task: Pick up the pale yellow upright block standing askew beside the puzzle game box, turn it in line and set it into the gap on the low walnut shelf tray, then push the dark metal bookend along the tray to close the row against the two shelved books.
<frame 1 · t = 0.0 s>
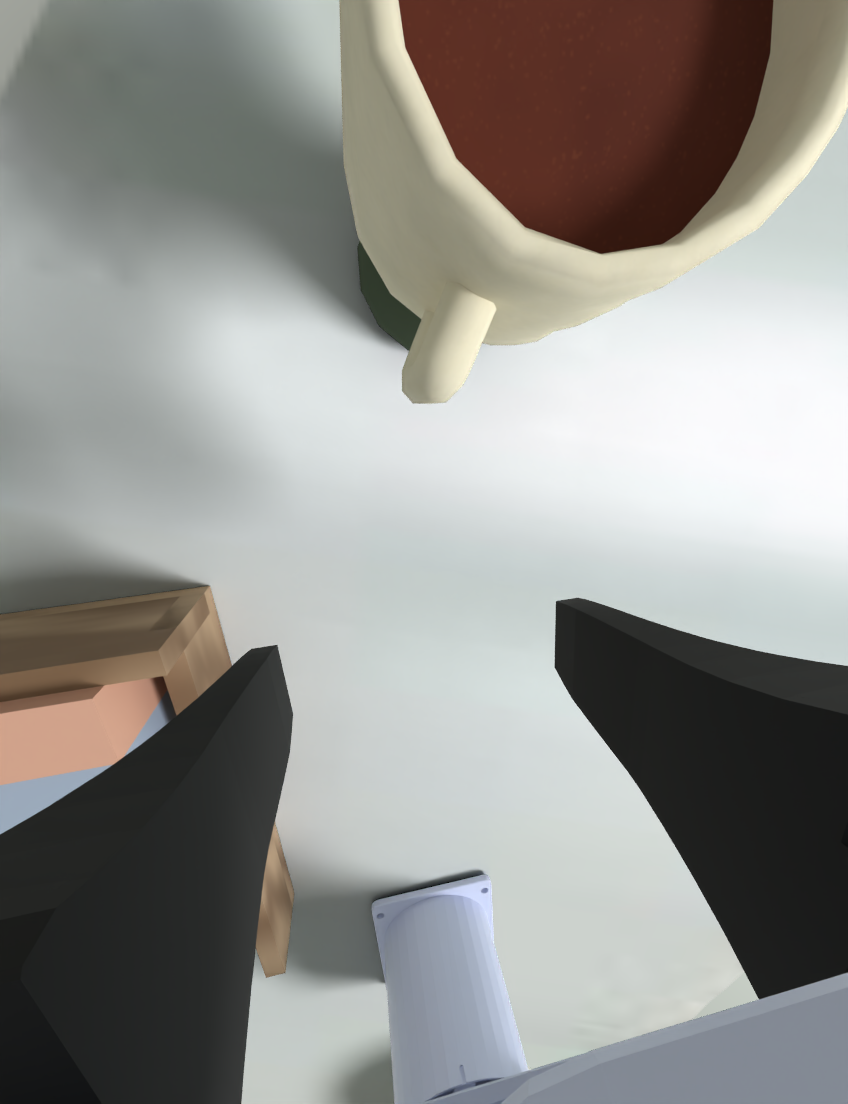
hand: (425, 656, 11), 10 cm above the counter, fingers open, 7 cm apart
row books: (160, 781, 22), resting on shelf tray
shelf tray: (170, 779, 22), on the counter
character mug: (435, 276, 17), on the counter
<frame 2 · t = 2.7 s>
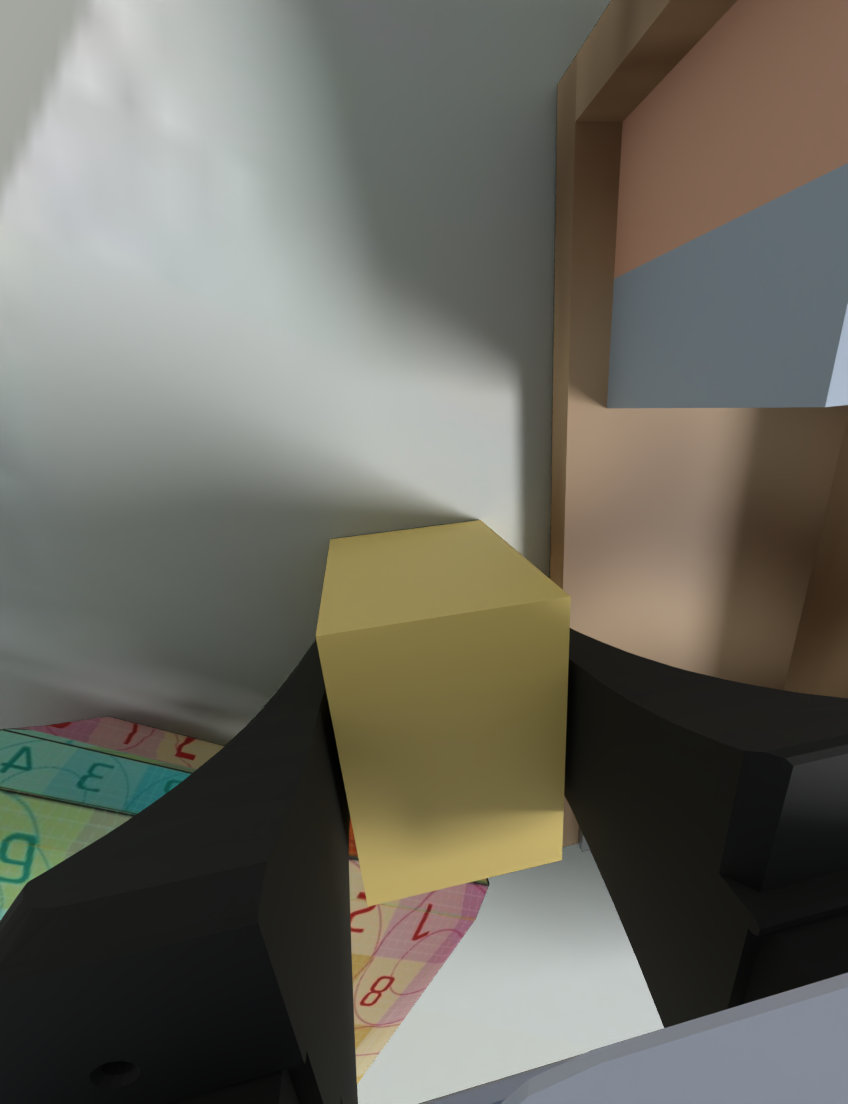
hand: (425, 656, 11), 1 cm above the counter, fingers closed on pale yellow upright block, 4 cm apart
row books: (676, 543, 13), resting on shelf tray
shelf tray: (691, 541, 13), on the counter
pale yellow upright block: (417, 629, 12), on the counter, touching gripper
puzzle game: (182, 937, 15), on the counter
bookend: (710, 841, 13), point 3 cm above the counter, slide at 0.0 cm, touching shelf tray
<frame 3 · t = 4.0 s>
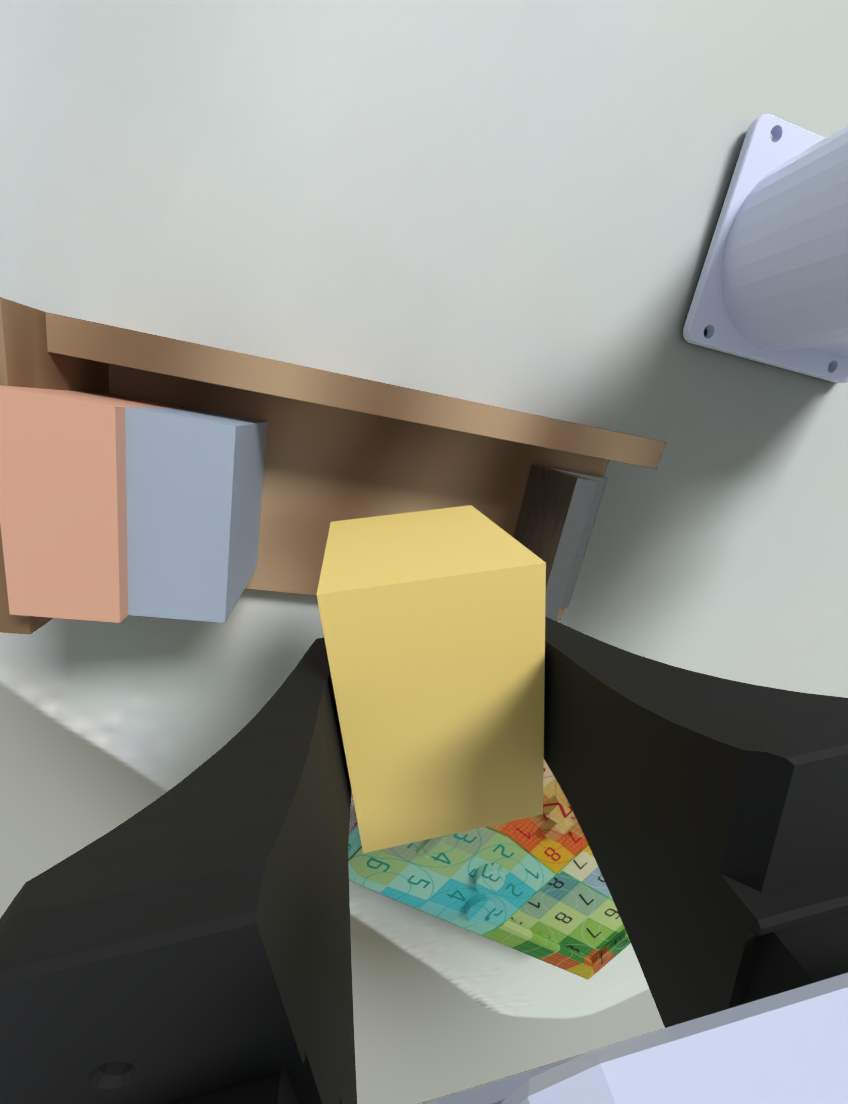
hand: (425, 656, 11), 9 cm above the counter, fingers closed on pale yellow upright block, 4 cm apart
row books: (363, 508, 19), resting on shelf tray
shelf tray: (364, 497, 19), on the counter
pale yellow upright block: (412, 609, 13), point 7 cm above the counter, touching gripper
puzzle game: (523, 802, 27), on the counter
bookend: (570, 552, 18), point 3 cm above the counter, slide at 0.0 cm, touching shelf tray
when the fingers open (4 cm above the counter, at t = 5.6 s): pale yellow upright block stays where it is, resting on shelf tray.
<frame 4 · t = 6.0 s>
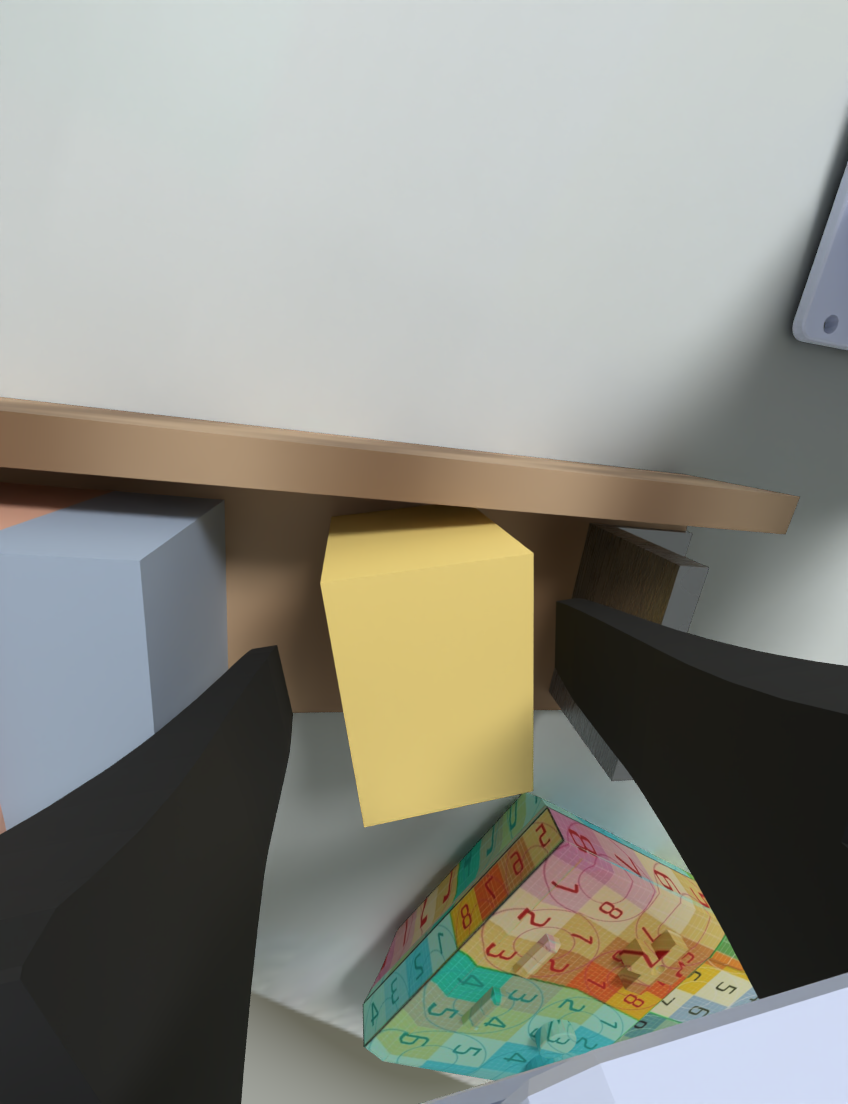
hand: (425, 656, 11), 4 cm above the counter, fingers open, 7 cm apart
row books: (365, 594, 14), resting on shelf tray
shelf tray: (366, 580, 14), on the counter
pale yellow upright block: (409, 600, 13), point 1 cm above the counter, touching shelf tray
puzzle game: (584, 905, 22), on the counter
bookend: (652, 643, 13), point 3 cm above the counter, slide at 0.0 cm, touching shelf tray
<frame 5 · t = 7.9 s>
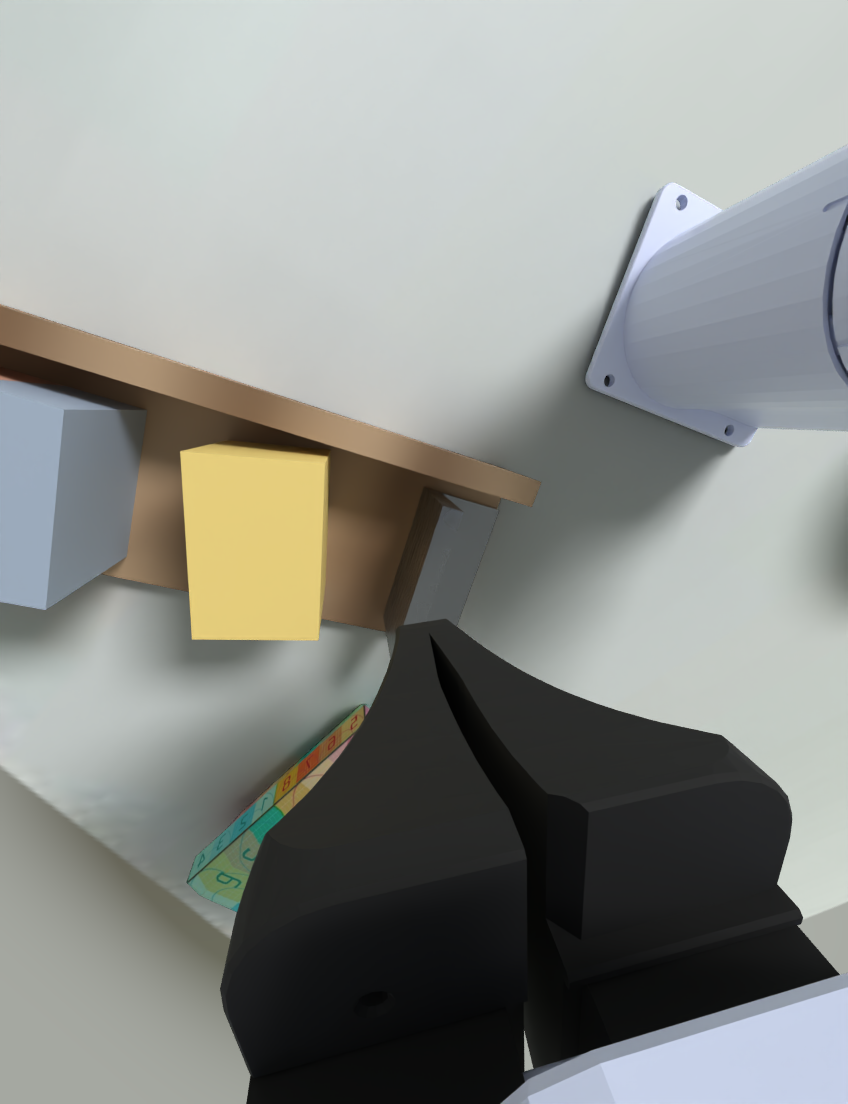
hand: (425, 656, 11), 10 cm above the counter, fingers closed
row books: (249, 510, 18), resting on shelf tray
shelf tray: (251, 499, 18), on the counter
pale yellow upright block: (279, 517, 18), point 1 cm above the counter, touching shelf tray
puzzle game: (409, 823, 26), on the counter
bookend: (448, 578, 18), point 3 cm above the counter, slide at 0.0 cm, touching shelf tray
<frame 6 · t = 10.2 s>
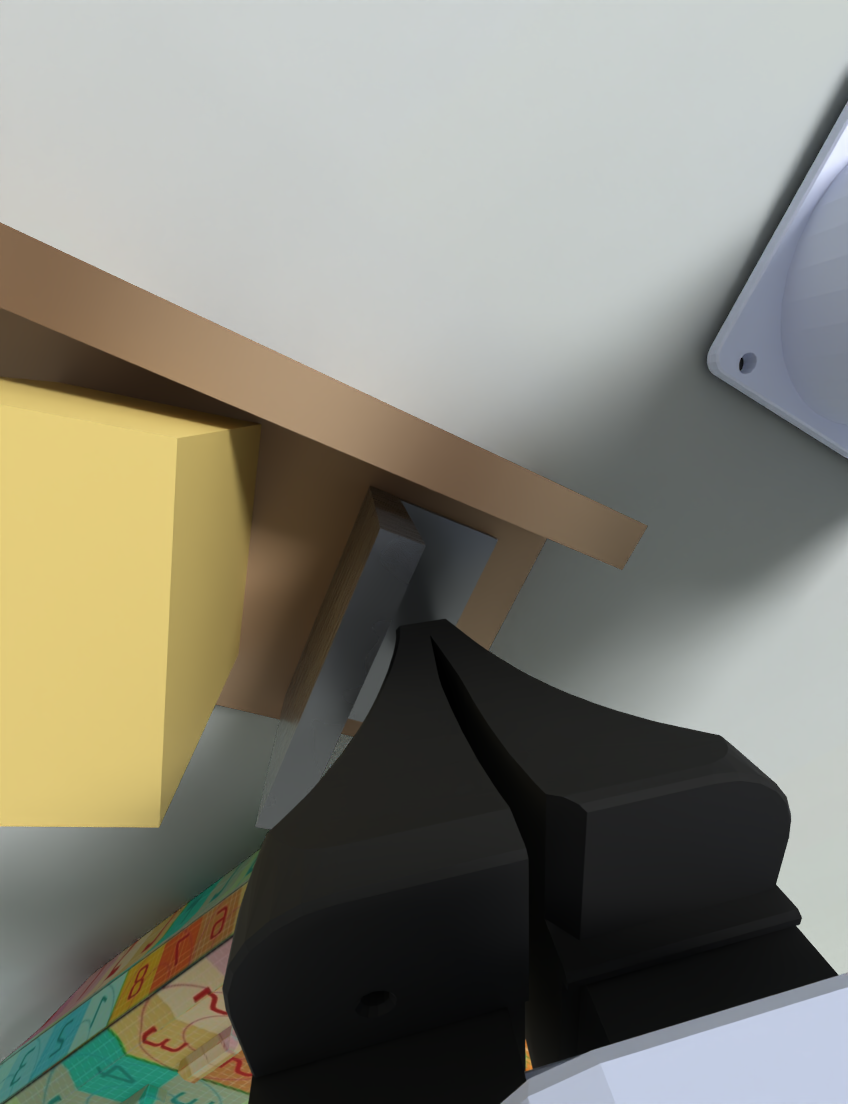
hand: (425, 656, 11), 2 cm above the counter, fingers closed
shelf tray: (117, 496, 10), on the counter
pale yellow upright block: (159, 535, 10), point 1 cm above the counter, touching shelf tray
puzzle game: (353, 979, 18), on the counter
bookend: (394, 657, 10), point 3 cm above the counter, slide at 1.4 cm, touching gripper, shelf tray
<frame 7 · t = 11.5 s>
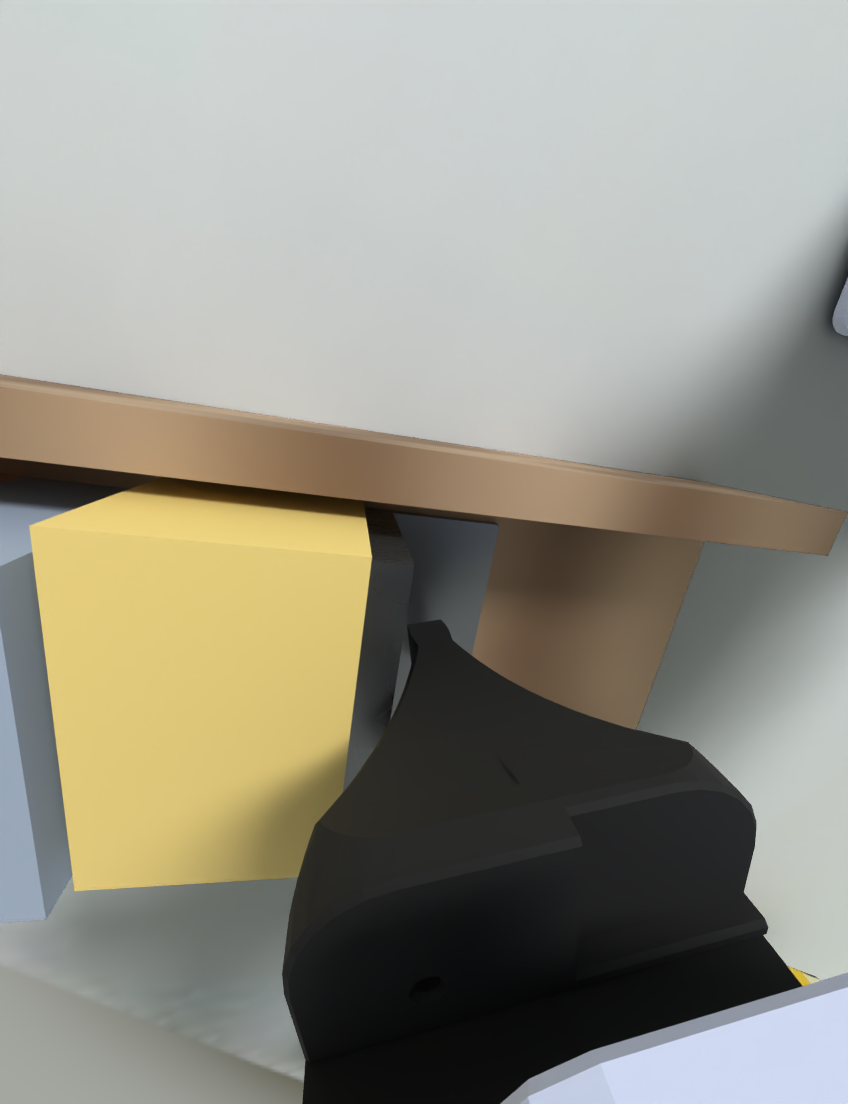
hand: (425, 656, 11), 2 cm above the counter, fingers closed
row books: (335, 607, 12), resting on shelf tray
shelf tray: (336, 591, 12), on the counter
pale yellow upright block: (270, 596, 11), point 1 cm above the counter, touching bookend, shelf tray
bookend: (424, 666, 10), point 3 cm above the counter, slide at 6.6 cm, touching pale yellow upright block, gripper, shelf tray
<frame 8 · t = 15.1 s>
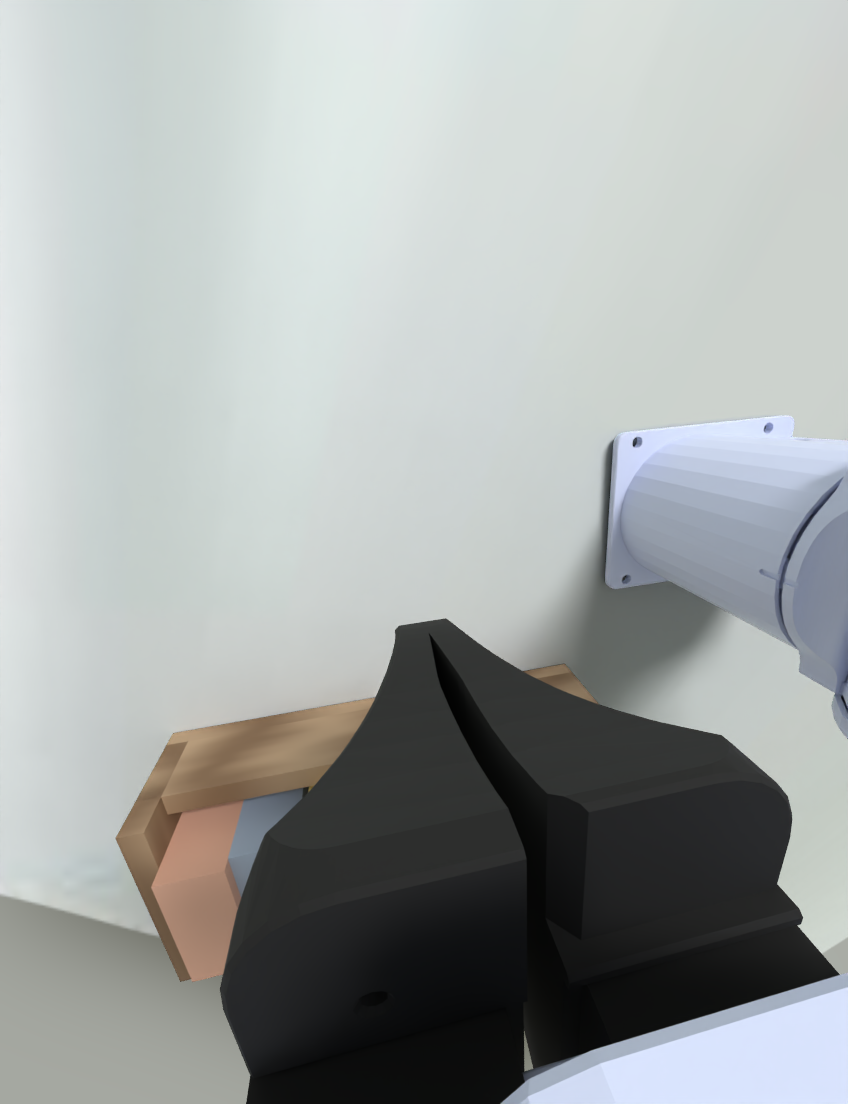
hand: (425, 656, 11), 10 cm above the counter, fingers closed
row books: (390, 768, 24), resting on shelf tray
shelf tray: (389, 761, 24), on the counter
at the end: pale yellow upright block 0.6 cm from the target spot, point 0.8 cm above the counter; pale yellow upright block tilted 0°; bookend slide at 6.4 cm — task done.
